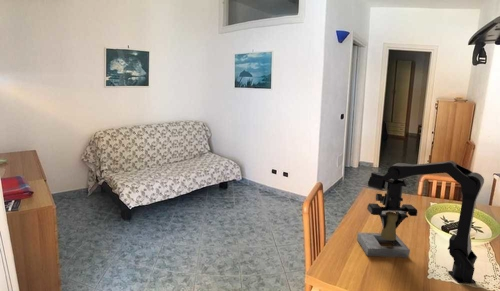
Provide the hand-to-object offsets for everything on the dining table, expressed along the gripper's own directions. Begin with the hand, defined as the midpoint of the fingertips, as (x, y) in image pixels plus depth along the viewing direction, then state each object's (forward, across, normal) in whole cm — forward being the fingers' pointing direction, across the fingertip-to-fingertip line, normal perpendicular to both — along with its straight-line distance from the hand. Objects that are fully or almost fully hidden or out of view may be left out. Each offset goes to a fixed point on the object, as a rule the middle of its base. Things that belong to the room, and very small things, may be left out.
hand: (389, 228), depth 132 cm
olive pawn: (+4, 0, 0) cm, 4 cm away
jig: (+9, +2, 0) cm, 10 cm away
